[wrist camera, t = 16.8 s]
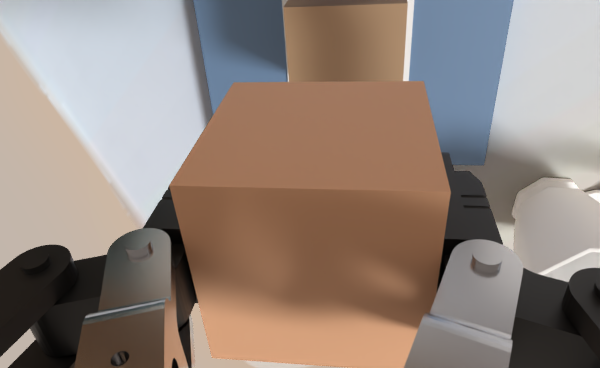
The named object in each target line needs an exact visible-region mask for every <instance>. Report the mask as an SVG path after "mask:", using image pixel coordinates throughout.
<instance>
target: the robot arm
mask: <svg viewBox="0 0 600 368" xmlns="http://www.w3.org/2000/svg"><path fill="white" fill-rule="evenodd" d="M441 154H442V158H443V162H444V166H445V170H446V174H447V178H448V182H449V186H450V191H451V194H450V201H449V208H448V215H447V222H446V229H445V236H444V243H443V250H442V257H441V264H440V271H439V278H438V285H437V292H436V297H435V300H434V303H433V305H432V308H431V311H430V313H427V312H426V313H425V314H424V316H423V318H422V321H421V323H420V326H419V328H418V331H417V334H416V336H415V339H414V342H413V344H412V347H411V350H410V352H409V355H408V358H407V360H406V363H405V366H404V368H600V268H586V269H582V270H579V271H577V272H575V273H574V274H573V275H572V276H571V278H570V280H569V282H566V281H562V280H558V279H554V278H551V277H547V276H543V275H540V274H537V273H534V272H532V271H529V270H527V269H525V268H523V264H522V262H521V260H520V258H519V257H518V255H517V254H516V253H515V252H513V251H512V250H511V249H509V248H508V247H506V246H504V245H503V243H502V240H501V237H500V234H499V231H498V228H497V225H496V222H495V220H494V217H493V214H492V211H491V209H490V205H489V202H488V199H487V198H486V194H485V191H484V188H483V185H482V183H481V182H480V181H479V180H478V179H477V178H476V177H475V176H474V175H473V174H472V173H471V172H470V171H454V169H453V165H452V161H451V158H450V154H449V153H448V152H441ZM195 303H198V299H197V295H196V291H195V287H194V283H193V279H192V275H191V271H190V267H189V263H188V259H187V255H186V251H185V247H184V243H183V239H182V235H181V231H180V227H179V223H178V219H177V215H176V211H175V207H174V203H173V199H172V195H171V191H170V187H168V190H166V192H165V194H164V195H163V197H162V200H160V202H159V203H158V205H157V206H156V208H155V210H154V211H153V213H152V214H151V216H150V218H149V219H148V221H147V222H146V224H145V226H144V227H143V229H138V230H134V231H132V232H129V233H127V234H125V235H123V236H121V237H120V238H118V239H117V240H116V241H115V242H114V243H113V244H112V245H111V246H110V248H109V250H108V253H107V255H103V256H98V257H93V258H88V259H82V260H77V261H73V258H72V256H71V254H70V251H69V250H68V249H67V248H65V247H63V246H60V245H45V246H40V247H36V248H33V249H30V250H28V251H26V252H24V253H22V254H20V255H19V256H17V257H16V258H15V259H13V260H12V261H11V262H9V263H8V264H7V265H6V266H5V267H3V268H2V269H1V270H0V357H1V356H2V355H3V353H5V352H6V351H7V350H8V349H9V348H10V347H11V346H12V345H13V344H14V343H15V342H16V341H17V340H18V339H19V338H20V337H21V336H22V335H23V334H24V333H25V332H26V331H27V330H28V329H29V328H30V329H31V331H32V333H33V335H34V336H35V338H36V340H35V341H34V342H33V343H32V344H31V345H30V346H29V347H28V348H27V349H26V350H25V351H24V352H23V353H22V354H21V355H20V356H19V357H18V358H17V359H16V360H15V361H14V362H13V363H12V364H11V365H10V366H9V367H8V368H195V358H194V357H195V356H194V339H193V323H192V318H191V315H190V314H191V311H192V309H193V306H194V304H195Z"/></svg>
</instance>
